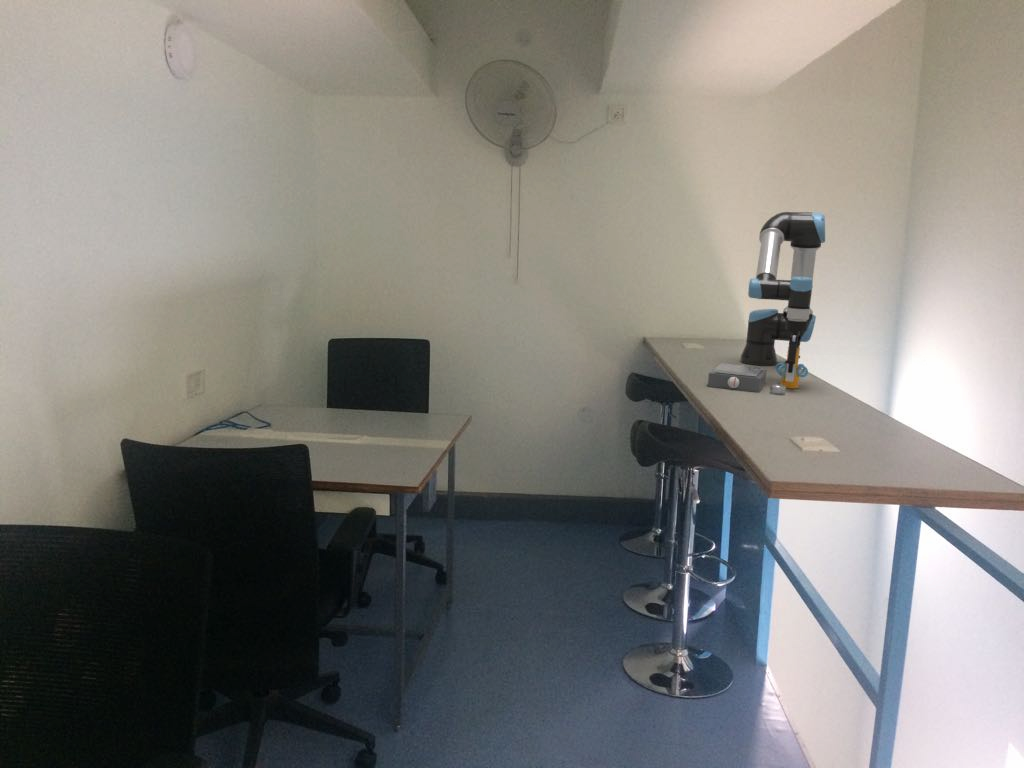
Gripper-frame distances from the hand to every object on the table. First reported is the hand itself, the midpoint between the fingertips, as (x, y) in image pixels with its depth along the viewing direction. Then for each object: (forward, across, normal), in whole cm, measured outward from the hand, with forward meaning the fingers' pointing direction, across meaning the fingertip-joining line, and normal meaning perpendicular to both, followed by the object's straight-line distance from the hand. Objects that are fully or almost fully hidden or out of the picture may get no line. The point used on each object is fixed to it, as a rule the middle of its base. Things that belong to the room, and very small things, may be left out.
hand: (790, 378), depth 276 cm
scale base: (+3, +7, -18) cm, 20 cm away
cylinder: (+4, 0, 0) cm, 4 cm away
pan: (+2, +7, -18) cm, 19 cm away
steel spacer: (+4, +14, -3) cm, 15 cm away
